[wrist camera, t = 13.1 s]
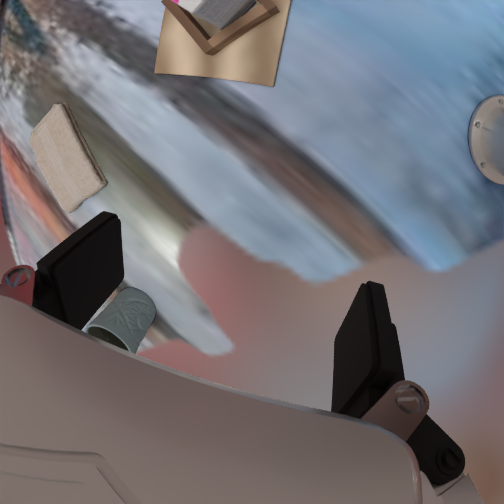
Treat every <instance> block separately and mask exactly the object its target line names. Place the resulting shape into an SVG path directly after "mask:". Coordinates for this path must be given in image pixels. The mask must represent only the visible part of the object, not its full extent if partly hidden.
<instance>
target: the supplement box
mask: <svg viewBox="0 0 504 504" xmlns="http://www.w3.org/2000/svg"><path fill="white" fill-rule="evenodd" d="M170 1H172V2H174V3H175V4H177V5H179V6H181V7H182V8H184V9H186V10H187V11H189V12H190V13H193V14H194V15H196V16H198V17H200V18H202V19H204V20H205V21H207V22H209V23H211V24H212V25H214V26H216V27H217V28H219V29H221V30H223V29H224V28H225V27H227V26H228V25H230V24H231V23H233V22H234V21H236V20H237V19H239V18H240V17H242V16H243V15H245V14H246V13H247V12H248V11H249V10H250V9H251V8H252V7H253V6H254V5H255V4H256V1H255V0H170Z"/></svg>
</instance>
